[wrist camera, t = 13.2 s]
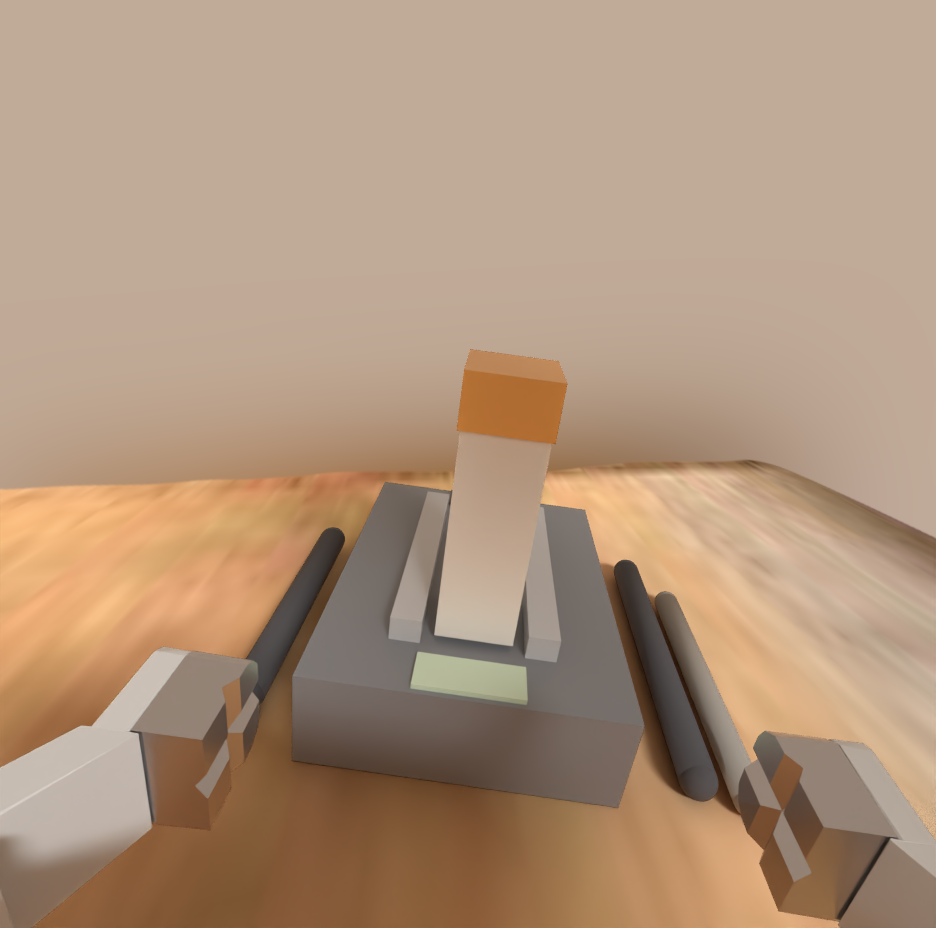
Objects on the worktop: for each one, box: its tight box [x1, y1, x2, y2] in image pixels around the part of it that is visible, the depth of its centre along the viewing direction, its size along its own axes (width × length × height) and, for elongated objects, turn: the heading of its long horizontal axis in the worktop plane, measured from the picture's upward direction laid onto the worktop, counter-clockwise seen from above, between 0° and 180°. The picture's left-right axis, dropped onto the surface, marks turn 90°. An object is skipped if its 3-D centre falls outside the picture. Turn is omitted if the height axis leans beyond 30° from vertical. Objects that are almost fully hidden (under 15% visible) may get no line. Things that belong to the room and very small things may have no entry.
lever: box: [434, 349, 567, 646], centre depth 21 cm, size 3×3×10 cm
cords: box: [246, 527, 751, 814], centre depth 28 cm, size 16×21×1 cm
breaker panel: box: [292, 482, 645, 808], centre depth 27 cm, size 16×12×5 cm
